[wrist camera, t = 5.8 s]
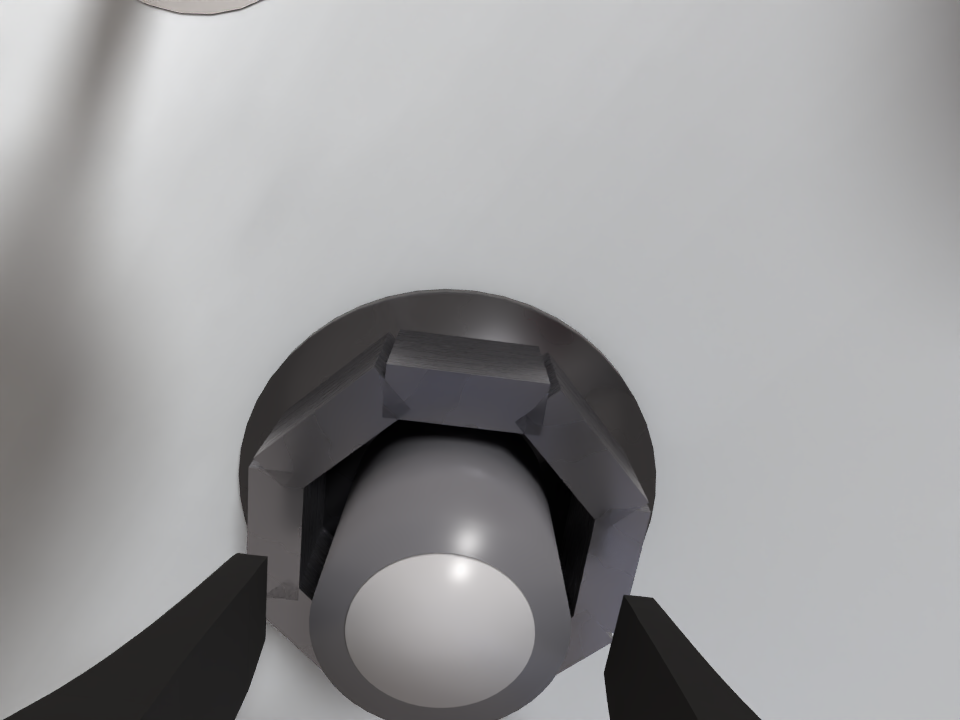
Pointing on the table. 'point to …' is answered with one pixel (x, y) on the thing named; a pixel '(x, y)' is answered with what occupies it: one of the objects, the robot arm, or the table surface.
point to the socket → (458, 402)
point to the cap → (442, 578)
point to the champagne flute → (199, 5)
